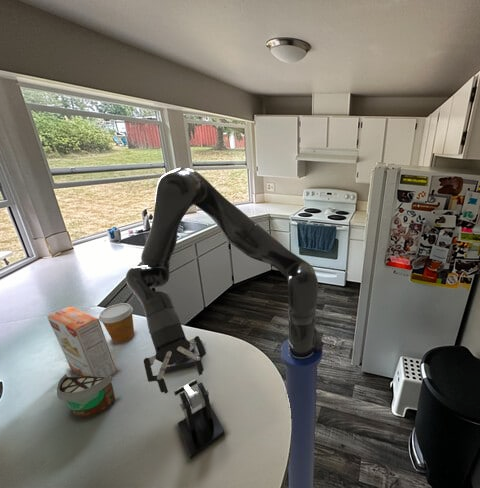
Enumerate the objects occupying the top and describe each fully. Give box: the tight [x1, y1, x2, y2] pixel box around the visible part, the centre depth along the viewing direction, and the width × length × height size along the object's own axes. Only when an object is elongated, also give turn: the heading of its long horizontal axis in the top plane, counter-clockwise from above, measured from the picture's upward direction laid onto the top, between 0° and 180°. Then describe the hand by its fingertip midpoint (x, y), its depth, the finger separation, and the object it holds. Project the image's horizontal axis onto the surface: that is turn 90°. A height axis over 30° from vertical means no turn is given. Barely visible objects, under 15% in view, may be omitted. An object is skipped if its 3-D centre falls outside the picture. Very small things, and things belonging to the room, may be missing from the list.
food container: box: [56, 373, 116, 420], centre depth 65 cm, size 12×6×10 cm, turn 92°
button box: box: [164, 339, 204, 374], centre depth 84 cm, size 10×10×4 cm
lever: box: [173, 379, 203, 410], centre depth 63 cm, size 12×6×2 cm, turn 43°
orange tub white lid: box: [98, 302, 135, 344], centre depth 91 cm, size 10×10×12 cm
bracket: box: [177, 381, 226, 460], centre depth 61 cm, size 10×8×13 cm
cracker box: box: [47, 305, 118, 377], centre depth 75 cm, size 14×6×21 cm, turn 67°
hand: (184, 383), depth 68 cm, fingers open, 8 cm apart
